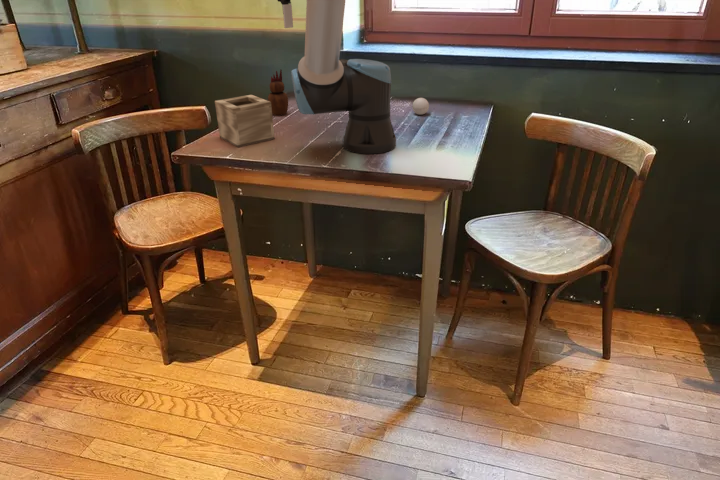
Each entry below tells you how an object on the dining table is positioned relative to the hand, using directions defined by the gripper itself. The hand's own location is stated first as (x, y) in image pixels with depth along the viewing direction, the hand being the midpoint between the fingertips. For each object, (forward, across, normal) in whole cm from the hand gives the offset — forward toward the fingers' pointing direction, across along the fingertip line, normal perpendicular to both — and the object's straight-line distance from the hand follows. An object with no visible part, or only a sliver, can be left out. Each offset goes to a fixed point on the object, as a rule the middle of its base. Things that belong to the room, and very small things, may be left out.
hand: (301, 29), depth 153 cm
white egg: (+29, -17, -34) cm, 48 cm away
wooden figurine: (+29, +16, 0) cm, 33 cm away
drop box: (+29, 0, +22) cm, 36 cm away
